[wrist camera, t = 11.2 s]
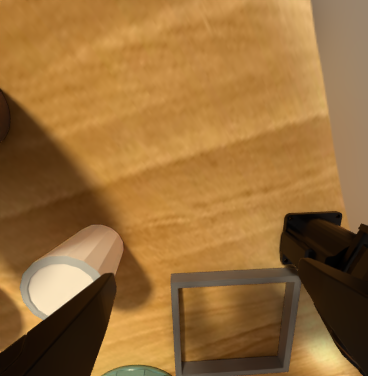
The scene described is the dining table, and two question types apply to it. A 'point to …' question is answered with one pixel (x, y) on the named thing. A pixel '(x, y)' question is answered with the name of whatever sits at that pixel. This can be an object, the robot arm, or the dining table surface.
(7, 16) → the dining table surface
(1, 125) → the plant pot
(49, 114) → the dining table surface
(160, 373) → the bowl
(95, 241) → the white cup
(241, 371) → the gray square frame
